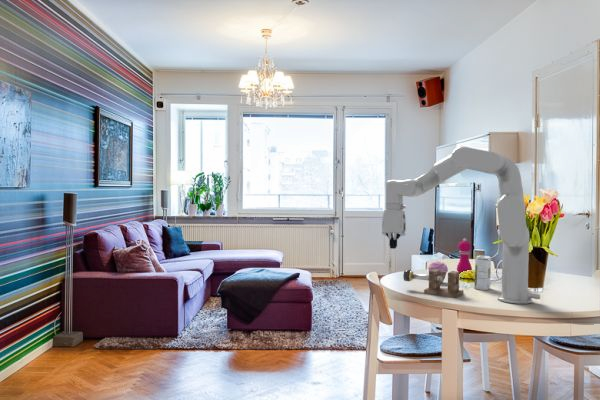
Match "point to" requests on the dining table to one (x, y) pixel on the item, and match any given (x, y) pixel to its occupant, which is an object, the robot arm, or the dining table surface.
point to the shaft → (417, 276)
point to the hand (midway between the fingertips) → (393, 248)
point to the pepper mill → (464, 256)
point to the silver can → (482, 272)
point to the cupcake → (439, 268)
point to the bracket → (450, 291)
